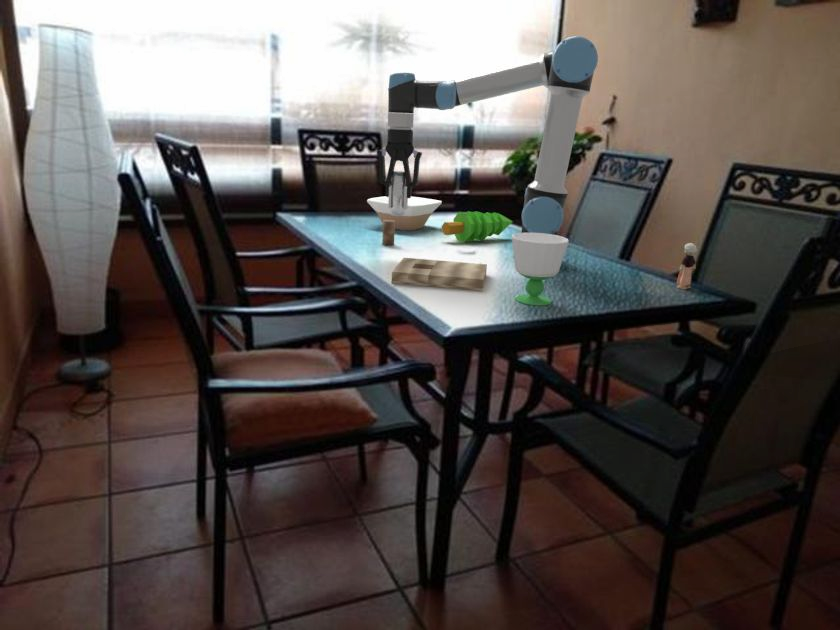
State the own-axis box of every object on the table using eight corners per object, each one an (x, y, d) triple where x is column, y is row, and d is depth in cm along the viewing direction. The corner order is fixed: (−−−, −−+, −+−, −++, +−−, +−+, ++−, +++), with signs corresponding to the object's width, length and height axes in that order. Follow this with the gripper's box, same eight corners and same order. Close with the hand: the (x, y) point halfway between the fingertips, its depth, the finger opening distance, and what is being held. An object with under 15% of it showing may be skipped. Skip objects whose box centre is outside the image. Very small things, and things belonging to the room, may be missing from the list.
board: (486, 274, 181) (486, 264, 181) (482, 290, 164) (483, 279, 164) (403, 267, 185) (403, 257, 184) (391, 282, 168) (391, 271, 167)
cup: (554, 294, 165) (561, 233, 160) (567, 309, 152) (575, 244, 147) (501, 292, 164) (507, 231, 159) (510, 307, 151) (517, 241, 146)
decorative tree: (441, 206, 223) (509, 201, 237) (434, 234, 230) (500, 227, 244) (458, 223, 216) (526, 217, 230) (450, 251, 223) (517, 243, 237)
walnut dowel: (395, 243, 218) (395, 220, 215) (392, 245, 214) (393, 222, 212) (383, 242, 218) (384, 219, 216) (381, 244, 215) (381, 221, 212)
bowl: (445, 227, 254) (447, 200, 251) (412, 235, 234) (413, 206, 231) (396, 219, 266) (397, 194, 263) (360, 226, 246) (361, 199, 243)
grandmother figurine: (680, 284, 182) (688, 240, 178) (694, 286, 180) (702, 242, 176) (671, 288, 176) (679, 243, 173) (685, 291, 174) (693, 246, 170)
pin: (405, 214, 196) (406, 171, 192) (403, 216, 192) (404, 172, 188) (392, 213, 197) (393, 171, 193) (389, 215, 193) (391, 172, 189)
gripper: (430, 129, 189) (427, 208, 196) (374, 127, 191) (373, 205, 199) (427, 130, 182) (423, 211, 189) (369, 127, 184) (367, 208, 191)
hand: (398, 208), depth 194 cm, fingers closed on pin, 4 cm apart
